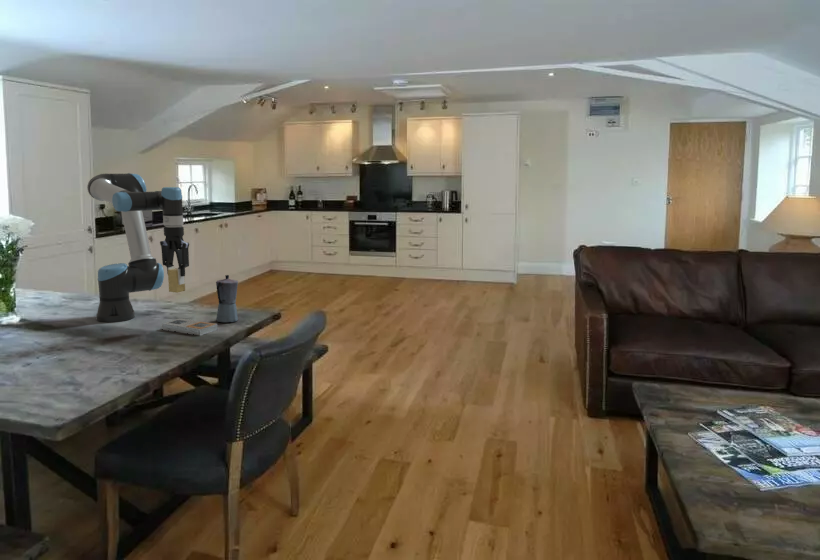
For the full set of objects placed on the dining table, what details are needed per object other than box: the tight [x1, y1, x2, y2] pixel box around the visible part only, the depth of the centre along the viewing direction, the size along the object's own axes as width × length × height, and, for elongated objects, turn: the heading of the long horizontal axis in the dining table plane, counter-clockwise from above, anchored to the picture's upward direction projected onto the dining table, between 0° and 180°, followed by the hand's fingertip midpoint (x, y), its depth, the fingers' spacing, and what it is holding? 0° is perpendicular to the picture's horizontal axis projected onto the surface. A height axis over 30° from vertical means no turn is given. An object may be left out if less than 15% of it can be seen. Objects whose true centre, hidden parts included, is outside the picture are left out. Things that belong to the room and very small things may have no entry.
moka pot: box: [215, 274, 239, 323], centre depth 267 cm, size 10×15×20 cm, turn 174°
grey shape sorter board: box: [161, 318, 218, 336], centre depth 254 cm, size 20×10×3 cm, turn 66°
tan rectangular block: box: [167, 267, 186, 294], centre depth 253 cm, size 4×4×9 cm
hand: (176, 283), depth 253 cm, fingers closed on tan rectangular block, 4 cm apart
